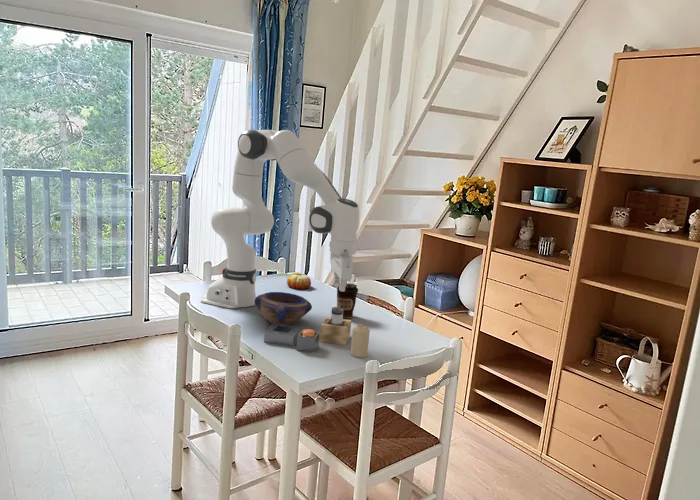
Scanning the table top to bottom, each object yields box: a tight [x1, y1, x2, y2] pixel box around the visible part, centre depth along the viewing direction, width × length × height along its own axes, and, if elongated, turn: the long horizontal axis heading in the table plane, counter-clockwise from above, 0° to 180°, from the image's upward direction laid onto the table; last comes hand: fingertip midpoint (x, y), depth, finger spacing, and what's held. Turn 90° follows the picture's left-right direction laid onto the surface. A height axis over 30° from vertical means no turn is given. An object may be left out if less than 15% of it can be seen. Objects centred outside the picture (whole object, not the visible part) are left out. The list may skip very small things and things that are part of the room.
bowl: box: [254, 291, 313, 325], centre depth 197 cm, size 18×18×10 cm
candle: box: [350, 323, 370, 359], centre depth 172 cm, size 6×6×10 cm
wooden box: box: [319, 316, 352, 346], centre depth 185 cm, size 9×9×6 cm
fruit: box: [286, 272, 312, 291], centre depth 247 cm, size 11×10×8 cm
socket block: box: [263, 323, 302, 347], centre depth 181 cm, size 10×10×4 cm
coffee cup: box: [336, 282, 359, 319], centre depth 209 cm, size 9×8×13 cm
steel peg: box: [330, 306, 344, 326], centre depth 184 cm, size 4×4×11 cm
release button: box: [302, 328, 316, 337], centre depth 174 cm, size 4×4×4 cm
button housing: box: [296, 329, 321, 354], centre depth 174 cm, size 6×6×5 cm
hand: (339, 286), depth 182 cm, fingers open, 8 cm apart
